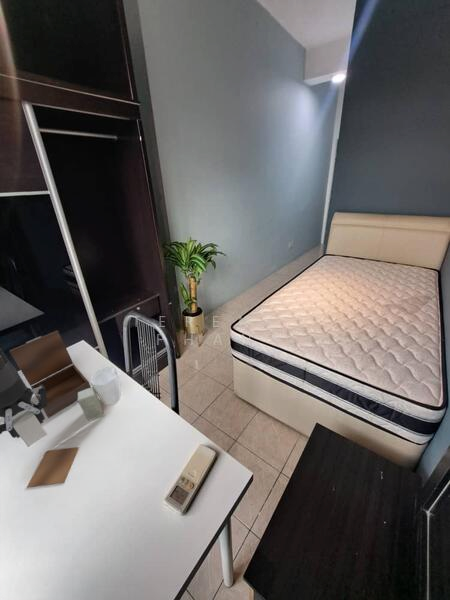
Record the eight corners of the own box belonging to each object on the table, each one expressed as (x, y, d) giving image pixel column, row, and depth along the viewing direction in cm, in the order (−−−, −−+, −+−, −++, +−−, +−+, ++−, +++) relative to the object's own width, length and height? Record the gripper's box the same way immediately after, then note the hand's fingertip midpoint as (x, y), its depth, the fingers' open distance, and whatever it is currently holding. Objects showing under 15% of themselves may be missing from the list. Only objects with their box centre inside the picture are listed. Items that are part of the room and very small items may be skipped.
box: (103, 407, 91) (94, 385, 86) (104, 416, 88) (94, 394, 83) (87, 413, 89) (77, 391, 84) (87, 422, 86) (77, 401, 81)
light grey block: (47, 434, 67) (34, 415, 63) (27, 447, 64) (13, 428, 60) (42, 424, 70) (30, 405, 66) (23, 436, 67) (9, 417, 63)
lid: (57, 330, 97) (53, 327, 101) (9, 351, 87) (7, 346, 91) (73, 363, 104) (69, 359, 108) (30, 386, 94) (27, 380, 98)
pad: (27, 487, 69) (26, 486, 69) (46, 451, 78) (46, 450, 78) (64, 482, 70) (63, 482, 69) (79, 447, 78) (78, 446, 78)
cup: (101, 393, 97) (92, 370, 91) (125, 387, 99) (117, 364, 94) (98, 412, 90) (88, 388, 84) (124, 404, 92) (116, 381, 86)
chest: (93, 392, 98) (88, 381, 95) (49, 419, 88) (42, 408, 85) (78, 374, 107) (73, 364, 105) (36, 396, 97) (30, 386, 95)
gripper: (30, 358, 64) (55, 403, 72) (-45, 393, 55) (-7, 439, 63) (38, 372, 60) (64, 417, 68) (-42, 412, 51) (-1, 459, 59)
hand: (30, 428), depth 66 cm, fingers closed on light grey block, 4 cm apart
